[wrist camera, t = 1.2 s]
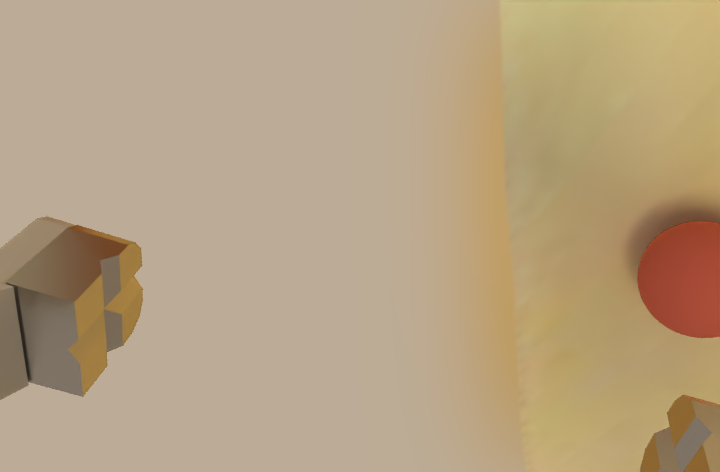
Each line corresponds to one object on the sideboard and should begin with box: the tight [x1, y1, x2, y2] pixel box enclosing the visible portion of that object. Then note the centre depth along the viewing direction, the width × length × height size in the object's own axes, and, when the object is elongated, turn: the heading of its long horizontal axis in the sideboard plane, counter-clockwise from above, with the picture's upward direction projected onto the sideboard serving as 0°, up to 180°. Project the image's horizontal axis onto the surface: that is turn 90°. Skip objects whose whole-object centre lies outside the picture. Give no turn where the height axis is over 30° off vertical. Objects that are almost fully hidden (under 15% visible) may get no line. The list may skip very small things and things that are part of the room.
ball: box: [638, 221, 720, 338], centre depth 35 cm, size 6×6×6 cm
